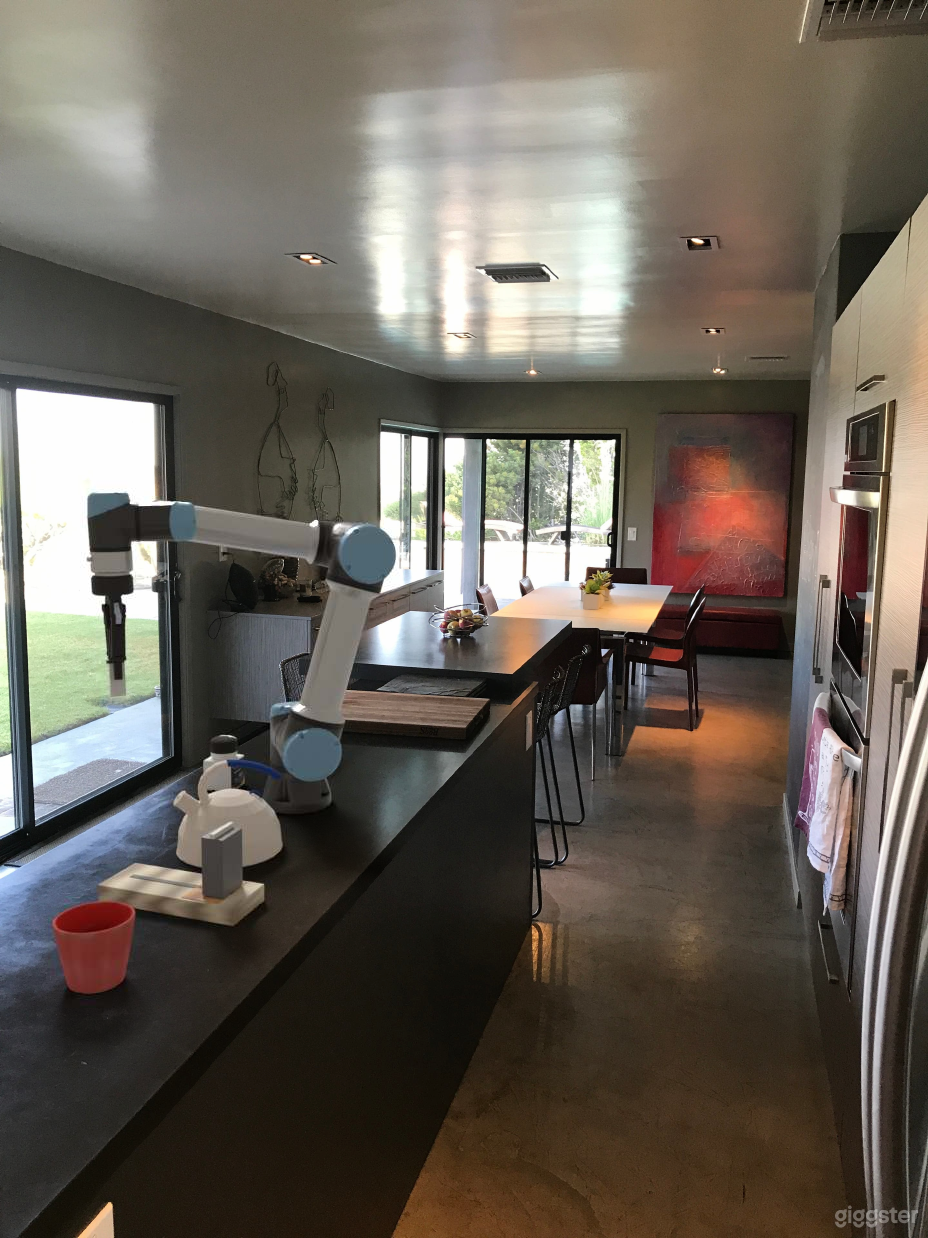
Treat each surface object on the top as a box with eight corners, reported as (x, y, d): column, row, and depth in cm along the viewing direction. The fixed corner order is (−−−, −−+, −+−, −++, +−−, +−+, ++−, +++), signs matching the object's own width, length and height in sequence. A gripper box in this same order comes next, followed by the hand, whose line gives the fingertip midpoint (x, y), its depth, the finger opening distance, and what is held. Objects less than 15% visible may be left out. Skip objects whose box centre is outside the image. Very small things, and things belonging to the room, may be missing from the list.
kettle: (168, 837, 189) (166, 750, 187) (271, 825, 197) (271, 741, 195) (180, 876, 171) (179, 781, 168) (293, 861, 179) (293, 769, 176)
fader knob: (202, 895, 155) (201, 832, 154) (222, 881, 161) (221, 820, 160) (223, 899, 154) (222, 836, 153) (242, 884, 160) (241, 823, 158)
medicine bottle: (231, 792, 217) (231, 742, 215) (203, 790, 218) (202, 740, 217) (245, 783, 224) (244, 734, 222) (217, 781, 225) (216, 732, 223)
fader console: (98, 901, 160) (97, 884, 159) (135, 878, 169) (135, 862, 169) (233, 926, 152) (233, 908, 151) (264, 900, 161) (264, 883, 161)
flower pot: (69, 962, 139) (66, 900, 138) (144, 961, 140) (143, 899, 139) (43, 1001, 129) (40, 934, 128) (125, 999, 130) (123, 933, 129)
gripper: (86, 571, 182) (93, 690, 185) (94, 577, 171) (101, 704, 174) (127, 570, 186) (133, 687, 189) (138, 575, 174) (144, 700, 177)
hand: (118, 695), depth 181 cm, fingers closed
